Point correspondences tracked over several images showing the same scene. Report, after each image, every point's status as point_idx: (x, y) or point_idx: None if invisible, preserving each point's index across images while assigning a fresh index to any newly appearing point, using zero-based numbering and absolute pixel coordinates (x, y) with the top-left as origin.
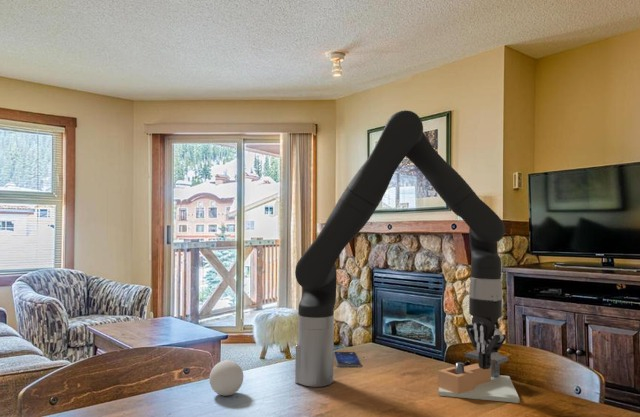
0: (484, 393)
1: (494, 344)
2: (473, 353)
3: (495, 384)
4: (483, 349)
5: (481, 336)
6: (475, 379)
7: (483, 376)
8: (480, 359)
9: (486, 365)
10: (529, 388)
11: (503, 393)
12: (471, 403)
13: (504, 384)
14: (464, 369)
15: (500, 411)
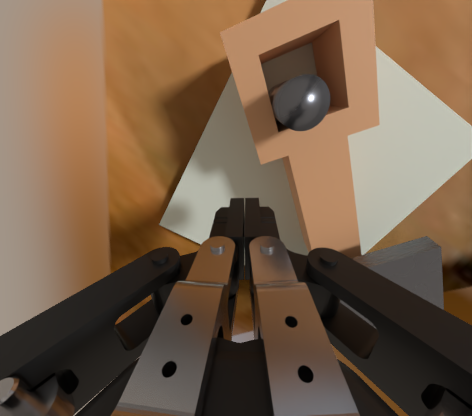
0: (212, 158)
1: (41, 316)
2: (410, 273)
3: None
4: (206, 255)
5: (183, 347)
6: (290, 183)
7: (301, 222)
8: (245, 215)
9: (216, 215)
10: (247, 292)
11: (201, 211)
12: (176, 78)
13: None
14: (314, 149)
15: (106, 132)
